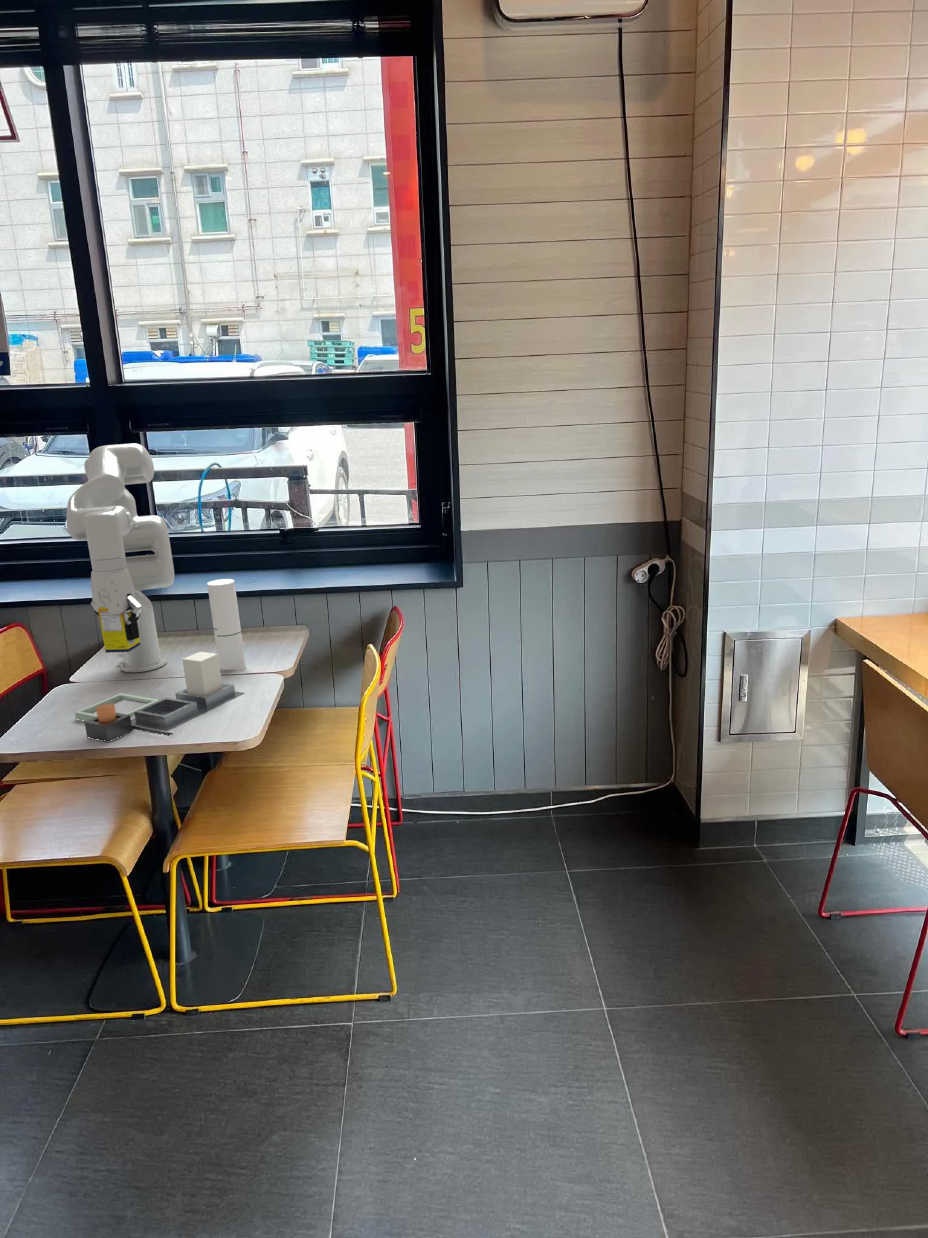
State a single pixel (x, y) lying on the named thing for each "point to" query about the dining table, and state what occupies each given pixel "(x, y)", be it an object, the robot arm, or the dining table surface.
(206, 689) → the block
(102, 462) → the robot arm
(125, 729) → the button housing
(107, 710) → the button
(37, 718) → the dining table surface
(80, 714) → the frame
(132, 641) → the supplement box
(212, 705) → the grey open box
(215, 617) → the cylindrical container
